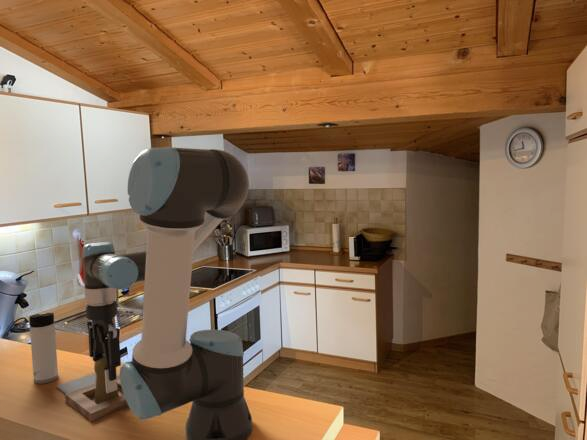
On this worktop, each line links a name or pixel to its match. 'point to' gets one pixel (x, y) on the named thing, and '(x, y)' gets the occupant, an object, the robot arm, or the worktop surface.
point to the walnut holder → (91, 409)
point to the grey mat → (77, 383)
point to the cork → (102, 383)
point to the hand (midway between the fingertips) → (106, 387)
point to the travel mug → (43, 348)
